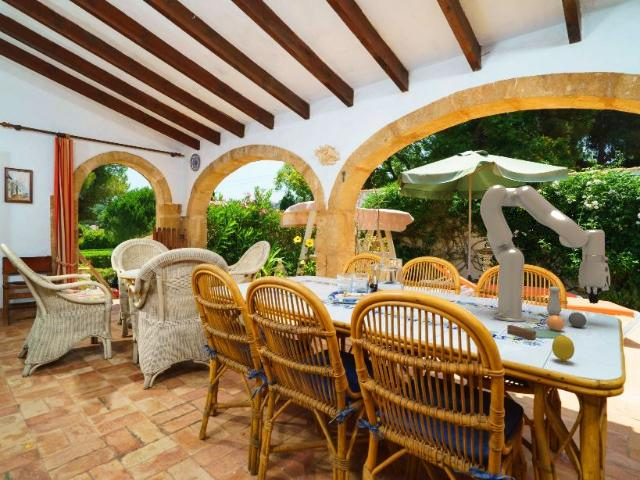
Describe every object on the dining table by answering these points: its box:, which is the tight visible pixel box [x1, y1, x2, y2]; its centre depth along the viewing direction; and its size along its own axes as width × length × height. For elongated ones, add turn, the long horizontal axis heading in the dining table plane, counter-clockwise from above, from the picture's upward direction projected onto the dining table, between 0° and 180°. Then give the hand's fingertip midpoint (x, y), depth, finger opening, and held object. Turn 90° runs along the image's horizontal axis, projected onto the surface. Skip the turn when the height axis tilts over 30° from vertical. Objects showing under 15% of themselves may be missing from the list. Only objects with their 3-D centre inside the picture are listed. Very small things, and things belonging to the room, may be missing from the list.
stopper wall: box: [506, 324, 537, 341], centre depth 136 cm, size 2×10×3 cm, turn 25°
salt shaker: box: [546, 286, 562, 316], centre depth 174 cm, size 6×6×13 cm
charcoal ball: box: [568, 311, 587, 328], centre depth 151 cm, size 6×6×6 cm
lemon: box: [551, 334, 575, 362], centre depth 110 cm, size 6×6×8 cm
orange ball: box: [546, 315, 566, 332], centre depth 145 cm, size 6×6×6 cm
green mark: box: [524, 327, 563, 339], centre depth 141 cm, size 14×14×1 cm
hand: (593, 303), depth 154 cm, fingers closed
